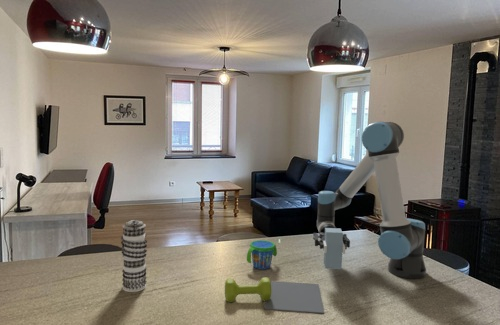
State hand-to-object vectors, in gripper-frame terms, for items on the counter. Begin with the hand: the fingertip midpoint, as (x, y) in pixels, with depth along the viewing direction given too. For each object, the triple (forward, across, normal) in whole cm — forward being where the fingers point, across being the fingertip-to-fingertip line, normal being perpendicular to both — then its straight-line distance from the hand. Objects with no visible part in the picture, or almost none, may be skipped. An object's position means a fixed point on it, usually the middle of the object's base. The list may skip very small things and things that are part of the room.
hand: (334, 249), depth 140 cm
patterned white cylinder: (+6, +74, -16) cm, 76 cm away
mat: (+5, +15, -16) cm, 23 cm away
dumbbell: (+10, +31, -16) cm, 36 cm away
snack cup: (-21, +28, -16) cm, 39 cm away
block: (-5, 0, -8) cm, 10 cm away
